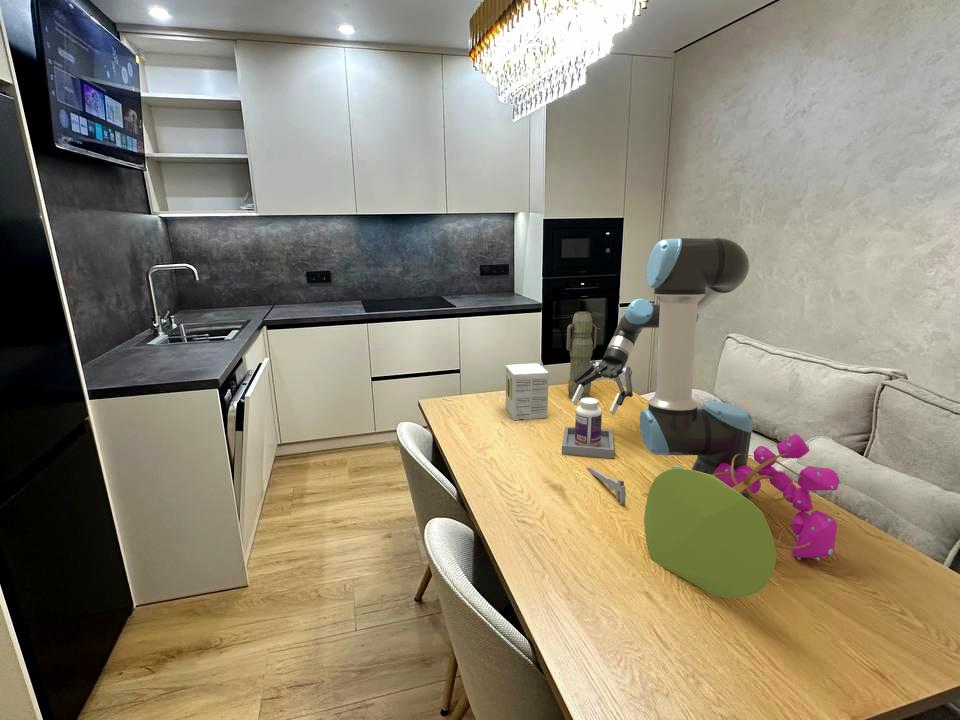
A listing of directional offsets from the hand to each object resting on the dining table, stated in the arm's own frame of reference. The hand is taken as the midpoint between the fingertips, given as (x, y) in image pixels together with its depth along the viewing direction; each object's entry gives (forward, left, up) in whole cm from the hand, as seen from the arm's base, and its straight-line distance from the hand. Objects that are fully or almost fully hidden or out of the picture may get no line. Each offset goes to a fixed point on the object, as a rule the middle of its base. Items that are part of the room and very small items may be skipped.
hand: (592, 408), depth 158 cm
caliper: (-27, -4, -12) cm, 30 cm away
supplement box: (+22, +24, -12) cm, 35 cm away
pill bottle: (-2, +1, -11) cm, 11 cm away
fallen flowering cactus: (-50, -32, -12) cm, 60 cm away
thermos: (+44, +5, -12) cm, 46 cm away
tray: (-3, +1, -12) cm, 12 cm away
